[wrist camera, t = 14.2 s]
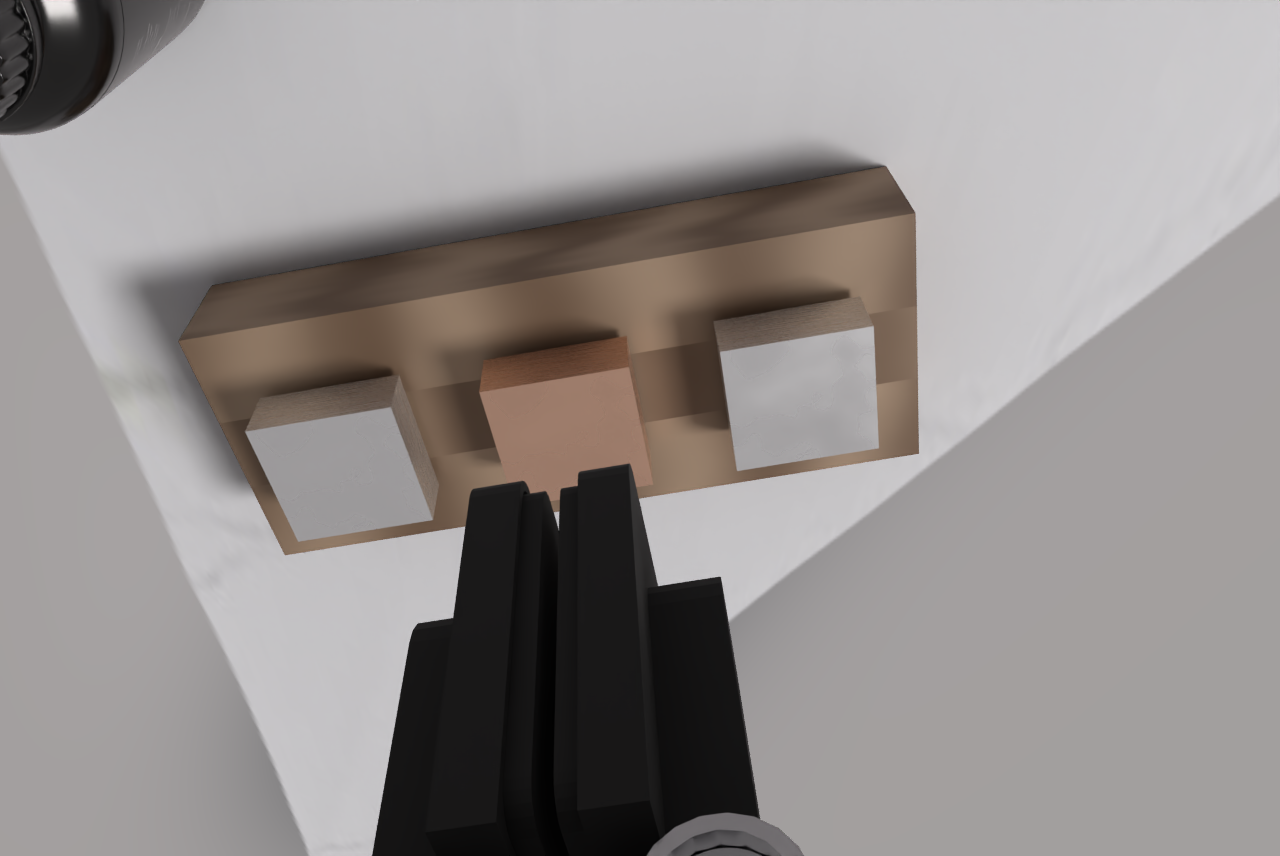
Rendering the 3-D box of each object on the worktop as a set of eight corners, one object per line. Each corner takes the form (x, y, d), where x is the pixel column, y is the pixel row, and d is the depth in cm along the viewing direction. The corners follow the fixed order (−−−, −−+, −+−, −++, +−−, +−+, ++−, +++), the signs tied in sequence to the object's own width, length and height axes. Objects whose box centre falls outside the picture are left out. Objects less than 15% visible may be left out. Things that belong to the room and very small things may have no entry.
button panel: (886, 166, 37) (915, 213, 34) (893, 395, 43) (918, 453, 40) (211, 285, 39) (178, 341, 36) (306, 491, 45) (284, 555, 41)
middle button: (622, 280, 39) (628, 367, 34) (644, 390, 42) (652, 484, 37) (491, 303, 39) (479, 392, 34) (522, 411, 42) (514, 506, 37)
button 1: (413, 317, 40) (390, 407, 35) (449, 423, 42) (432, 519, 38) (285, 339, 40) (244, 431, 35) (330, 443, 43) (298, 541, 38)
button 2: (836, 244, 39) (873, 326, 34) (843, 357, 42) (878, 448, 37) (702, 267, 39) (719, 352, 34) (718, 378, 42) (737, 470, 37)
